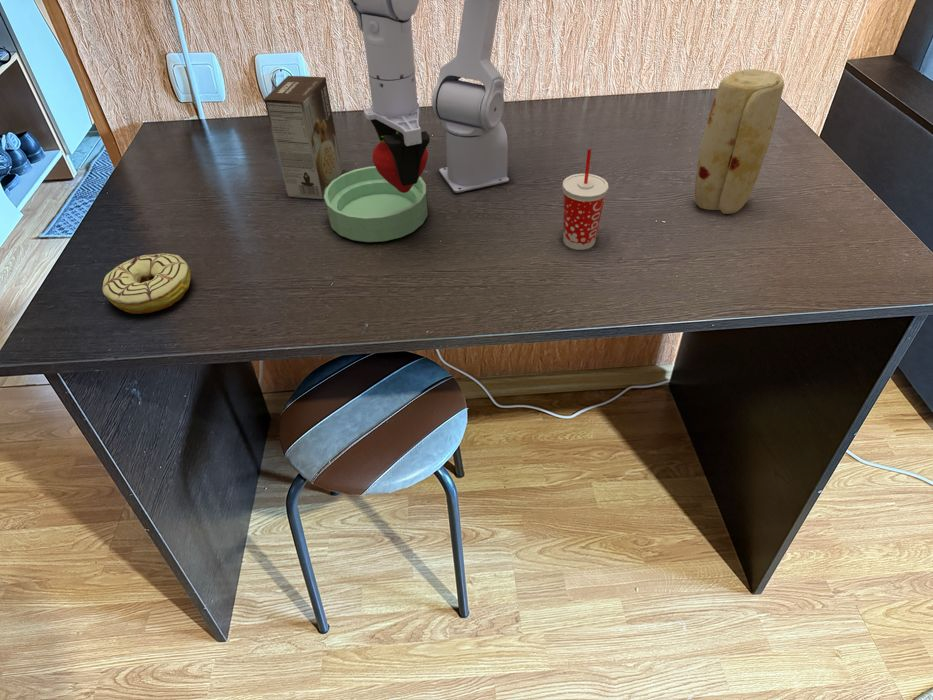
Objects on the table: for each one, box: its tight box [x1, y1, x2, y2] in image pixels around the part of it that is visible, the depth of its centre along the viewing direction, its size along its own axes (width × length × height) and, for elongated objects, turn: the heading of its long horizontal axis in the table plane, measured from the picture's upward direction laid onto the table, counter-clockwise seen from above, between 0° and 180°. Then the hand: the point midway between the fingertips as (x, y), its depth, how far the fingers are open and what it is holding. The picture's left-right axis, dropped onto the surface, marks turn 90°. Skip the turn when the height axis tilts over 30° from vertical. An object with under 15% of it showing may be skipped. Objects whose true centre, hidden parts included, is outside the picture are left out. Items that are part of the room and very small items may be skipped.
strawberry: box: [371, 131, 429, 193], centre depth 87 cm, size 6×8×10 cm
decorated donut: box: [102, 253, 192, 315], centre depth 85 cm, size 10×11×4 cm
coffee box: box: [263, 75, 343, 200], centre depth 101 cm, size 9×6×16 cm
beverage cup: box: [562, 148, 609, 251], centre depth 89 cm, size 6×6×14 cm
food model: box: [694, 68, 785, 215], centre depth 92 cm, size 10×7×20 cm
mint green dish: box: [323, 165, 429, 243], centre depth 98 cm, size 15×15×4 cm
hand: (402, 172), depth 89 cm, fingers closed on strawberry, 6 cm apart
